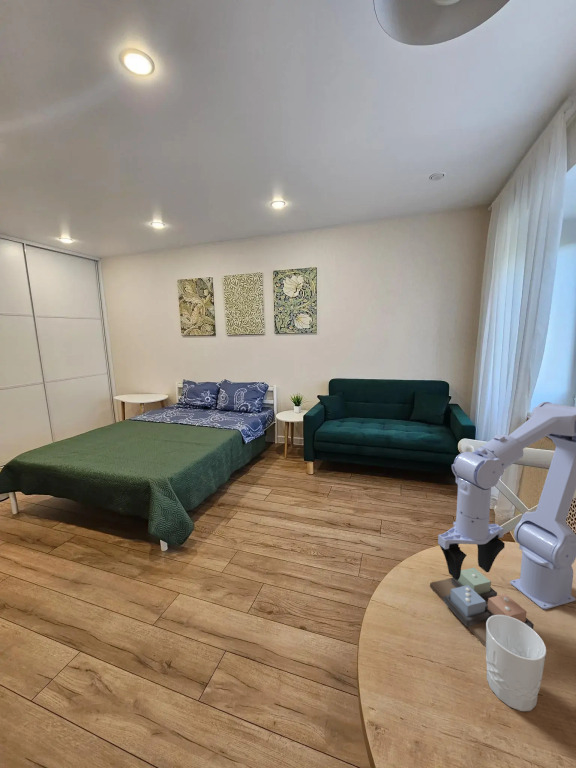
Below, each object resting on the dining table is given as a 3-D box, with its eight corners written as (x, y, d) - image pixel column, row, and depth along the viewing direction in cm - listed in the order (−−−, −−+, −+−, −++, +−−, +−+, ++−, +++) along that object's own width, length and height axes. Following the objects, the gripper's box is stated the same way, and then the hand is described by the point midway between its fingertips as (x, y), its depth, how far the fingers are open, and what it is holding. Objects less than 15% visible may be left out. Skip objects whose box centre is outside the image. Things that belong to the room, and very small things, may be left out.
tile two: (504, 604, 65) (505, 592, 65) (525, 622, 61) (526, 610, 60) (487, 608, 64) (488, 597, 64) (507, 627, 60) (508, 615, 59)
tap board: (468, 577, 75) (469, 568, 75) (539, 641, 59) (540, 630, 59) (426, 587, 73) (427, 578, 72) (489, 657, 56) (490, 645, 56)
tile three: (467, 595, 68) (468, 584, 67) (484, 612, 63) (485, 600, 63) (450, 599, 67) (450, 588, 66) (467, 617, 62) (467, 605, 62)
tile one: (473, 577, 73) (474, 566, 72) (490, 591, 68) (491, 580, 68) (457, 580, 72) (458, 570, 71) (473, 595, 67) (474, 584, 67)
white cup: (552, 722, 46) (558, 664, 45) (494, 710, 48) (499, 654, 47) (523, 668, 54) (528, 618, 53) (475, 660, 56) (478, 611, 55)
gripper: (484, 497, 68) (480, 553, 70) (428, 507, 64) (426, 565, 66) (515, 514, 61) (510, 575, 63) (454, 525, 58) (451, 590, 59)
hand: (469, 572), depth 64 cm, fingers open, 7 cm apart
